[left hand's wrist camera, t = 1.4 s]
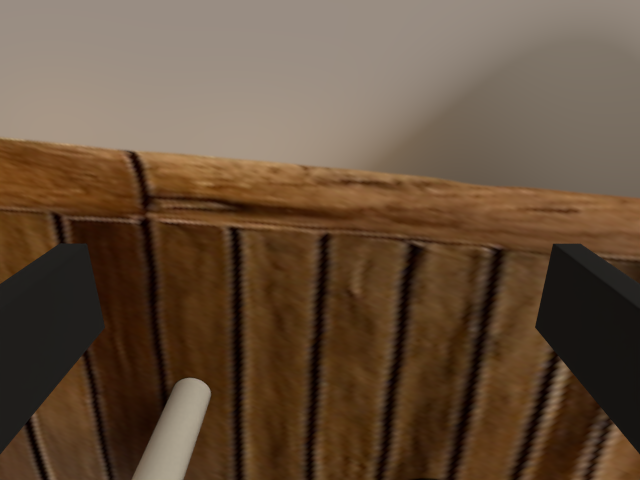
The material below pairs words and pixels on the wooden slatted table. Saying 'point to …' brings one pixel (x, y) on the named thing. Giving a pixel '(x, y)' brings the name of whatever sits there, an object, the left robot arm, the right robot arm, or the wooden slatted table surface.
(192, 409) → the beige cylinder
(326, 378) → the wooden slatted table surface
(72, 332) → the left robot arm
